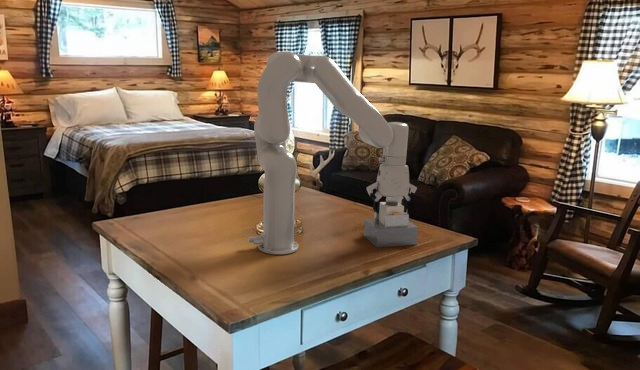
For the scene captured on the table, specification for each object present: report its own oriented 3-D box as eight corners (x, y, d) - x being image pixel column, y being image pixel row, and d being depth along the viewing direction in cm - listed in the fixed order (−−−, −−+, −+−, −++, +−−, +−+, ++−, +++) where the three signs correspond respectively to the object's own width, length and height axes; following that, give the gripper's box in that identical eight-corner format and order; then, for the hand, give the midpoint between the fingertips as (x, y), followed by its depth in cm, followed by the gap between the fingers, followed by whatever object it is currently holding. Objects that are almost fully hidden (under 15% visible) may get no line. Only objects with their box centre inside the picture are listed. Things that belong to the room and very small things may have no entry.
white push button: (385, 226, 178) (386, 204, 177) (378, 220, 184) (380, 199, 183) (402, 225, 180) (404, 203, 178) (395, 219, 186) (396, 199, 184)
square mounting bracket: (376, 247, 176) (378, 215, 174) (363, 235, 187) (365, 205, 185) (422, 244, 180) (424, 213, 178) (407, 233, 192) (409, 203, 189)
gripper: (373, 163, 172) (369, 215, 175) (423, 163, 176) (419, 214, 180) (364, 158, 179) (361, 209, 182) (413, 158, 183) (409, 208, 187)
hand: (390, 212), depth 181 cm, fingers open, 9 cm apart
